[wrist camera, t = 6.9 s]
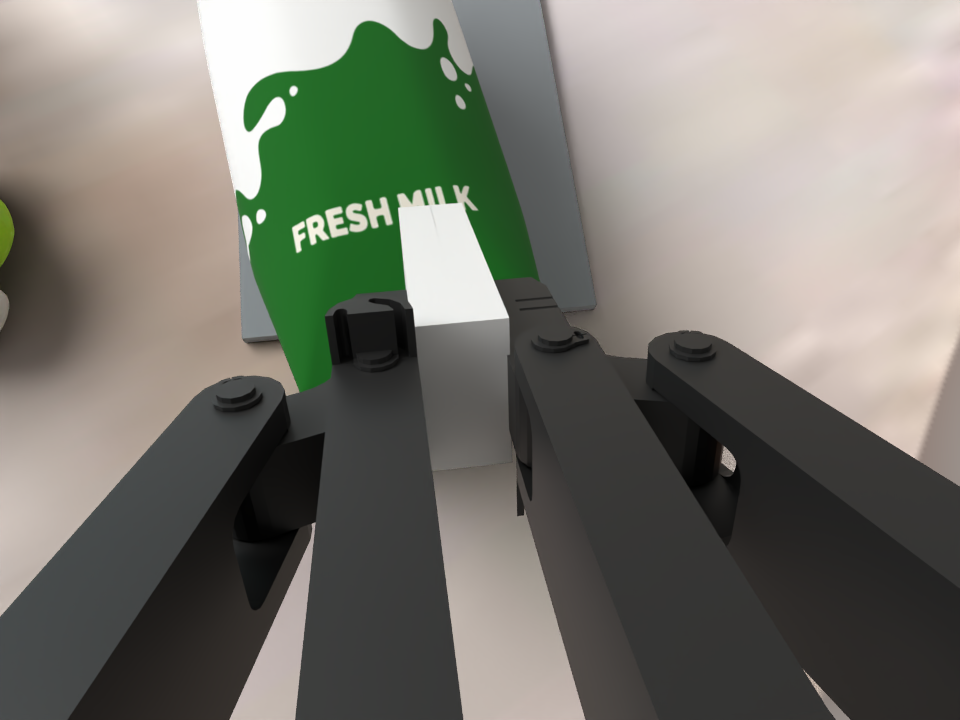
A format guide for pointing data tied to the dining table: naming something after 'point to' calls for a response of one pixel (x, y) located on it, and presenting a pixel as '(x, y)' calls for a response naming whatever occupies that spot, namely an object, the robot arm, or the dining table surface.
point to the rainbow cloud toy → (5, 254)
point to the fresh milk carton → (351, 150)
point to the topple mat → (505, 152)
